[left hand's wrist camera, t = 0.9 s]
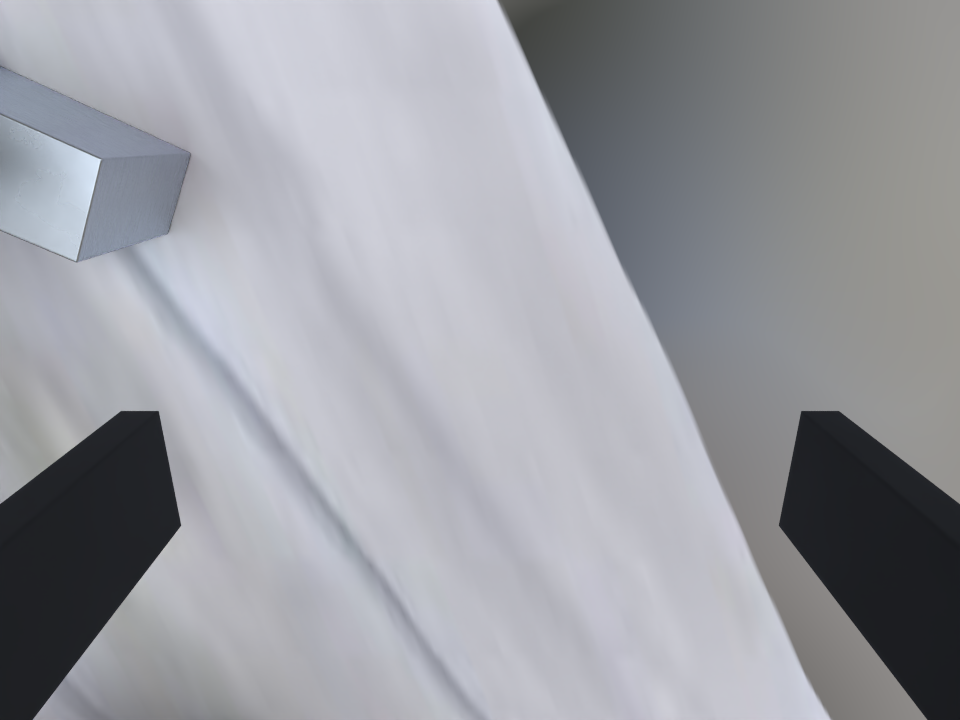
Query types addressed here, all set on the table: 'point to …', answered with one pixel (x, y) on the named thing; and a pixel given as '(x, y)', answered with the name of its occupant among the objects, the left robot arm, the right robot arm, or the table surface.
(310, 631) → the table surface
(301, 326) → the table surface
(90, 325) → the table surface
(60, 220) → the bar
